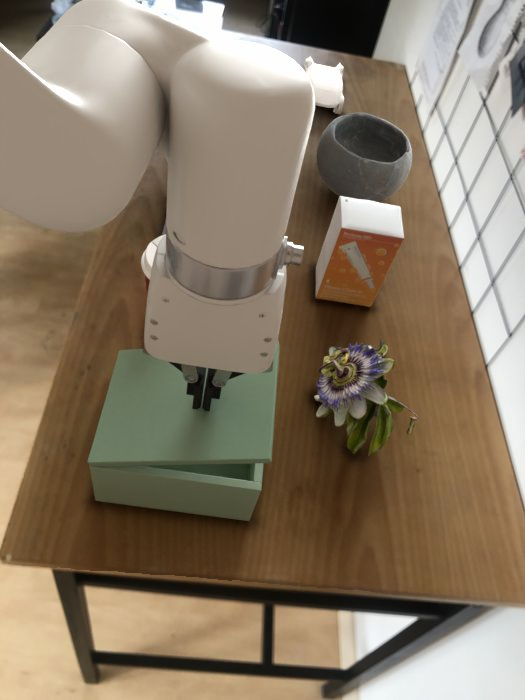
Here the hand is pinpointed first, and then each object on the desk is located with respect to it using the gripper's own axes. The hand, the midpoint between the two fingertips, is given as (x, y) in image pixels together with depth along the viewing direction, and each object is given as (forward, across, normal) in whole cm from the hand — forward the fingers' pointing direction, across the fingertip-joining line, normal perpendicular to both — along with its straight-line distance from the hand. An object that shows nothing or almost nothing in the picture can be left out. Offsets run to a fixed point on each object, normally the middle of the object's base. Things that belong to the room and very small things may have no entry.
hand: (203, 396), depth 52 cm
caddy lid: (+2, +1, 0) cm, 2 cm away
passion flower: (+12, -18, -9) cm, 23 cm away
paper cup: (+12, +5, -16) cm, 21 cm away
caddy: (+12, +1, 0) cm, 12 cm away
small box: (+12, -17, -29) cm, 36 cm away
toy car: (+12, -13, -80) cm, 82 cm away
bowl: (+12, -19, -52) cm, 57 cm away
